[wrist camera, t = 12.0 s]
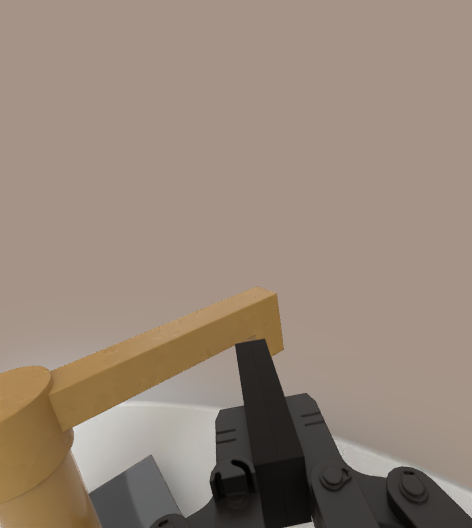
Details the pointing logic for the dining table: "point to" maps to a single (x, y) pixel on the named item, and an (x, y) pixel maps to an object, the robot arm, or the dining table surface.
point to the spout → (114, 382)
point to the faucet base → (92, 500)
